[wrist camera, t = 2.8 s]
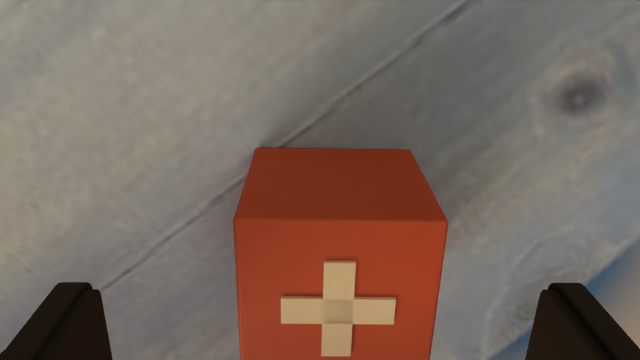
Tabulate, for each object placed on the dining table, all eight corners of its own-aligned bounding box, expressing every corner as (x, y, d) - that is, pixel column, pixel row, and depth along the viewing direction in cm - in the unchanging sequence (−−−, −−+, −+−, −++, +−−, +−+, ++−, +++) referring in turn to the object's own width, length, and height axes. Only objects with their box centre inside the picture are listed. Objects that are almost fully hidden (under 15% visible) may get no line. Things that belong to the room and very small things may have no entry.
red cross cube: (410, 148, 15) (450, 223, 11) (398, 279, 17) (427, 389, 12) (255, 146, 15) (231, 220, 10) (259, 278, 17) (240, 388, 12)
